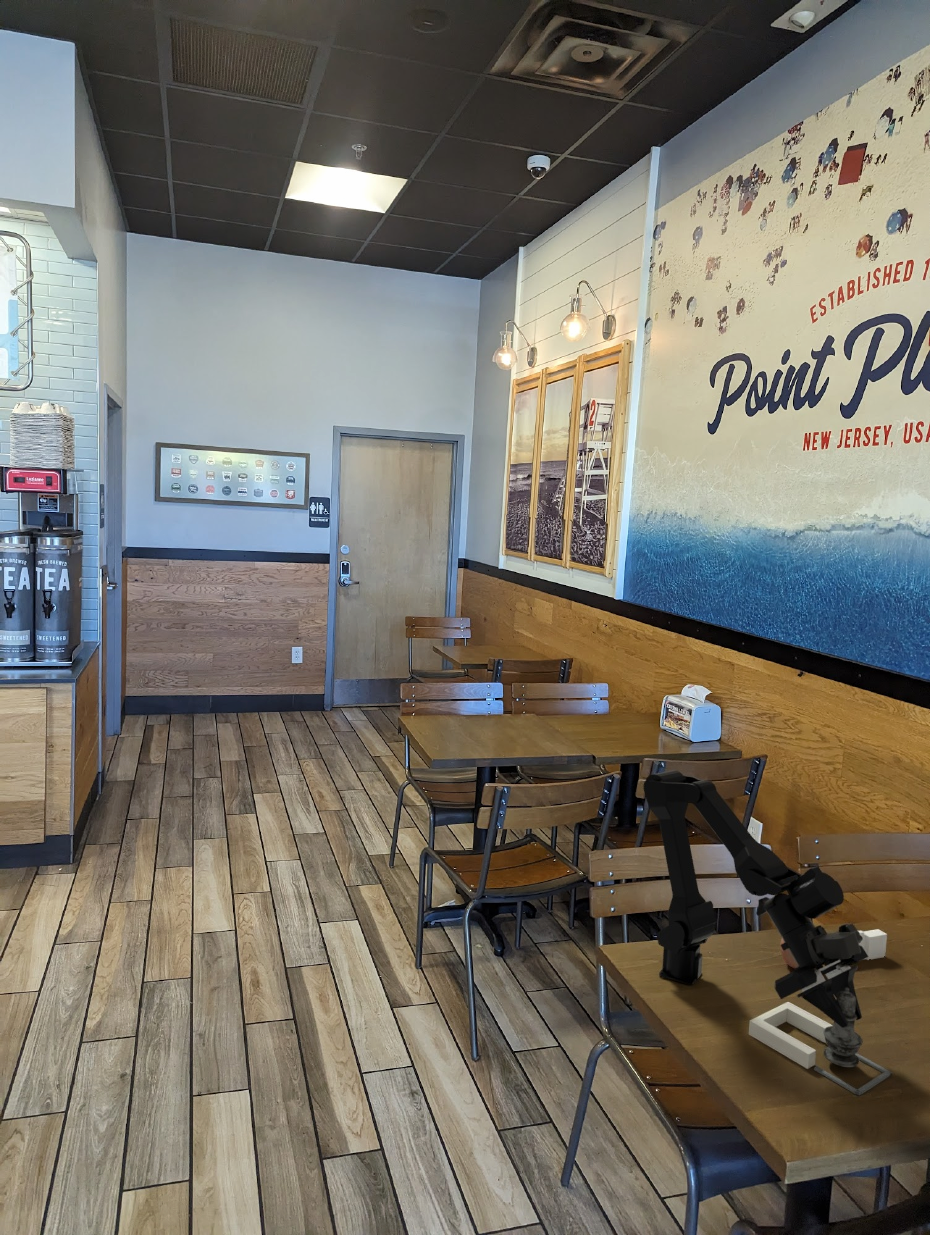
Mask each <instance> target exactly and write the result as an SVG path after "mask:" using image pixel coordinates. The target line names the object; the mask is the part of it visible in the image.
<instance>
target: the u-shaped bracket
mask: <svg viewBox="0 0 930 1235" xmlns="http://www.w3.org/2000/svg"><path fill="white" fill-rule="evenodd" d="M784 1023H788V1024H789V1025H791V1026H793V1027H795V1028H797V1029H799V1030H800V1031H802V1032H804V1033H806V1034H808V1035H810V1036H812V1037H813V1038H815V1039H816V1040H818V1041H820V1042H822V1043H824V1044H826V1045H827V1043H826V1040H825V1036H824V1034H823V1031H824V1029H825V1028H826V1027H829V1026H833V1025H832V1024H831V1023H829V1022H827V1021H825V1020H824V1019H821V1018H819V1017H818V1016H816V1015H814V1014H812V1013H810V1012H808V1011H806V1010H805V1009H803V1008H801V1007H799V1006H797V1005H795V1004H793V1003H791V1002H789V1001H787V1002H784V1003H782V1004H781V1005H779V1006H777V1007H775V1008H773V1009H770V1010H768V1011H766V1012H763V1013H762V1014H760V1015H759V1016H756V1017H754V1018H752V1019H750V1020H749V1026H748V1035H749V1036H750V1037H752V1038H754V1039H756V1040H758V1041H759V1042H761V1043H763V1044H764V1045H766V1046H768V1047H770V1048H771V1049H773V1050H775V1051H777V1053H780V1054H781V1055H784V1056H785V1057H787V1058H788V1059H790V1060H791V1061H793V1062H795V1063H796V1064H798V1065H800V1066H802V1067H803V1068H805V1069H807V1070H809V1069H810V1068H812V1067H815V1065H816V1056H817V1054H816V1053H817V1050H816V1049H815V1048H813V1047H810V1046H809V1045H807V1044H805V1043H804V1042H802V1041H801V1040H799V1039H797V1038H795V1037H793V1036H791V1035H790V1034H788V1033H786V1032H784V1031H782V1030H781V1029H779V1028H778V1026H780V1025H783V1024H784Z"/></svg>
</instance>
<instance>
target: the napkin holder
mask: <svg viewBox="0 0 930 1235" xmlns="http://www.w3.org/2000/svg"><path fill="white" fill-rule="evenodd" d="M858 932H859V933H860V935H861V936H862V938H863V940H862V941H861V942H860V943H859V945H860V946H862V947H863V949H864V950H865V952H866V954H867V955H868V957H867V958H865V959H864V960H867V961H869V959H871V960H874V959H880V958H885V957H886V953H887V952H886V950H887V940H888V933H885V932H884V931H882V930H880V929H879V928H877V929H872V930H871V929H870V930H865V931H864V930H858ZM884 956H885V957H884Z"/></svg>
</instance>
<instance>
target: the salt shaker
mask: <svg viewBox="0 0 930 1235" xmlns="http://www.w3.org/2000/svg"><path fill="white" fill-rule="evenodd" d="M845 990H846V991H840V992H839V993H838V994H837V998H836V997H835V999H836V1001H837V1002H838V1004H839V1006H840V1008H841V1010H842V1012H843V1014H844V1016H845V1018H846V1020H847V1023H848V1026H847V1027H844V1028H842V1027H841V1026H840V1025H838V1024H837V1023H836V1022H835V1021H833V1026H829V1027H826V1028H825V1029H824V1031H823V1034H824V1036H825V1040H826V1043H827V1044H826V1043H825V1044H826V1045H827V1046H826V1048H824V1050H823V1056H824V1058H825V1059H826V1060H827V1061H829V1062H831V1063H832V1064H834V1065H837V1066H839V1067H843V1068H854V1067H856V1066H858V1065H859V1063H860V1060H859V1059H858V1057H857V1056H856V1055H855V1054H856V1053H857V1054H858V1051H859V1050H860V1048H861V1046H863V1044H864V1043H863V1041H864V1040H863V1038H862V1036H860V1035H859V1033H857V1032H856V1031H855V1023H856V1022H855V1021H857V1020H856V1019H857V1015H856V1014H855V1007H856V997H855V996H854V995H853V994H852V993H851V992H849V988H848V987H846V988H845Z"/></svg>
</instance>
